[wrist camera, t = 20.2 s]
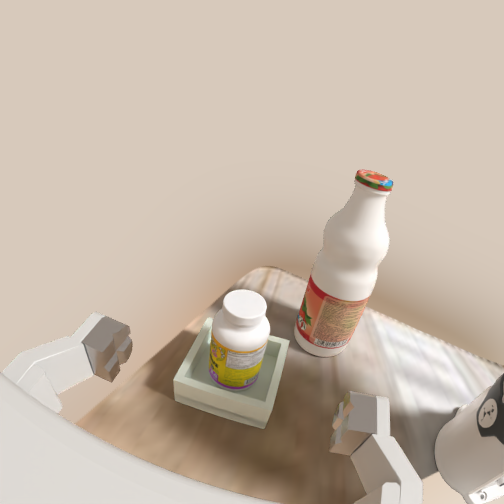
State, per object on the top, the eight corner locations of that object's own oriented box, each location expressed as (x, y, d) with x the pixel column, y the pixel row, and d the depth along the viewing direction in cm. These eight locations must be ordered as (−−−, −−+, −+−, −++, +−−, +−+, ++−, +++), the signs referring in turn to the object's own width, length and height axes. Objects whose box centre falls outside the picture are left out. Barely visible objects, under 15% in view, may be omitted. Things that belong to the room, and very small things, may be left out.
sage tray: (282, 362, 46) (289, 340, 43) (264, 429, 36) (271, 410, 33) (206, 340, 48) (207, 317, 45) (174, 400, 37) (173, 379, 35)
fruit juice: (328, 368, 46) (399, 196, 31) (281, 336, 51) (326, 166, 36) (355, 337, 52) (417, 185, 38) (312, 311, 57) (357, 160, 42)
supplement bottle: (209, 352, 43) (216, 280, 36) (256, 356, 44) (273, 285, 37) (206, 391, 37) (211, 321, 31) (258, 395, 38) (278, 326, 31)
